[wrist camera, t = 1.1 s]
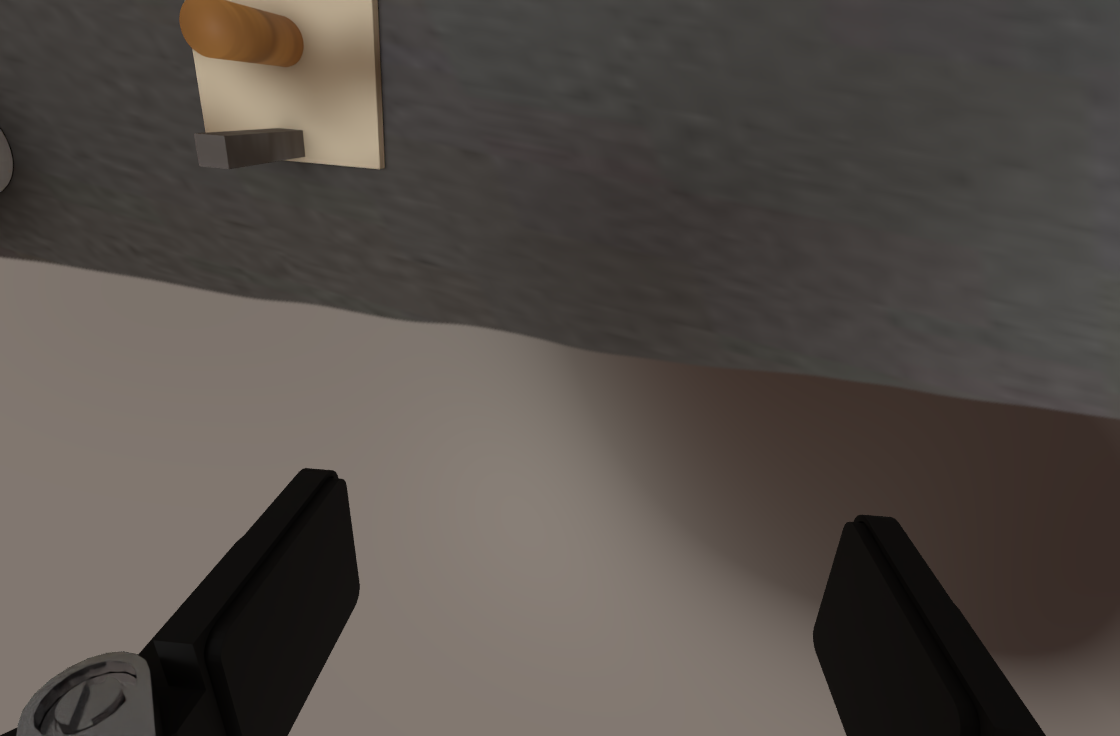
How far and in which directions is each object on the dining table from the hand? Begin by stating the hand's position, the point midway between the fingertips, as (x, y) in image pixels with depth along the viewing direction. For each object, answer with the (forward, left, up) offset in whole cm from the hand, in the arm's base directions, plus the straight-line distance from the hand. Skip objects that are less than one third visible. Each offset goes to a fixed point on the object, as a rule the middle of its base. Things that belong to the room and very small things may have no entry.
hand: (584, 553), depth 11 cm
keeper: (-10, -18, -26) cm, 33 cm away
